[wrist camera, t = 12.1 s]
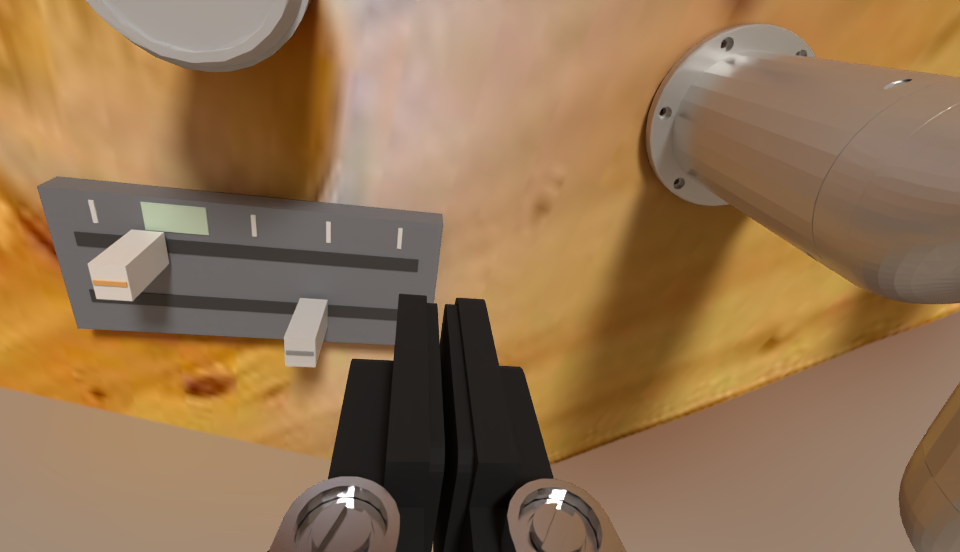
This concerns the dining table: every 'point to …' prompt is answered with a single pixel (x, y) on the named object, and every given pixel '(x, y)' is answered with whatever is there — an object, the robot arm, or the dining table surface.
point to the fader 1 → (129, 265)
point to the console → (244, 260)
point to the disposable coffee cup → (205, 29)
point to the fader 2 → (306, 333)
